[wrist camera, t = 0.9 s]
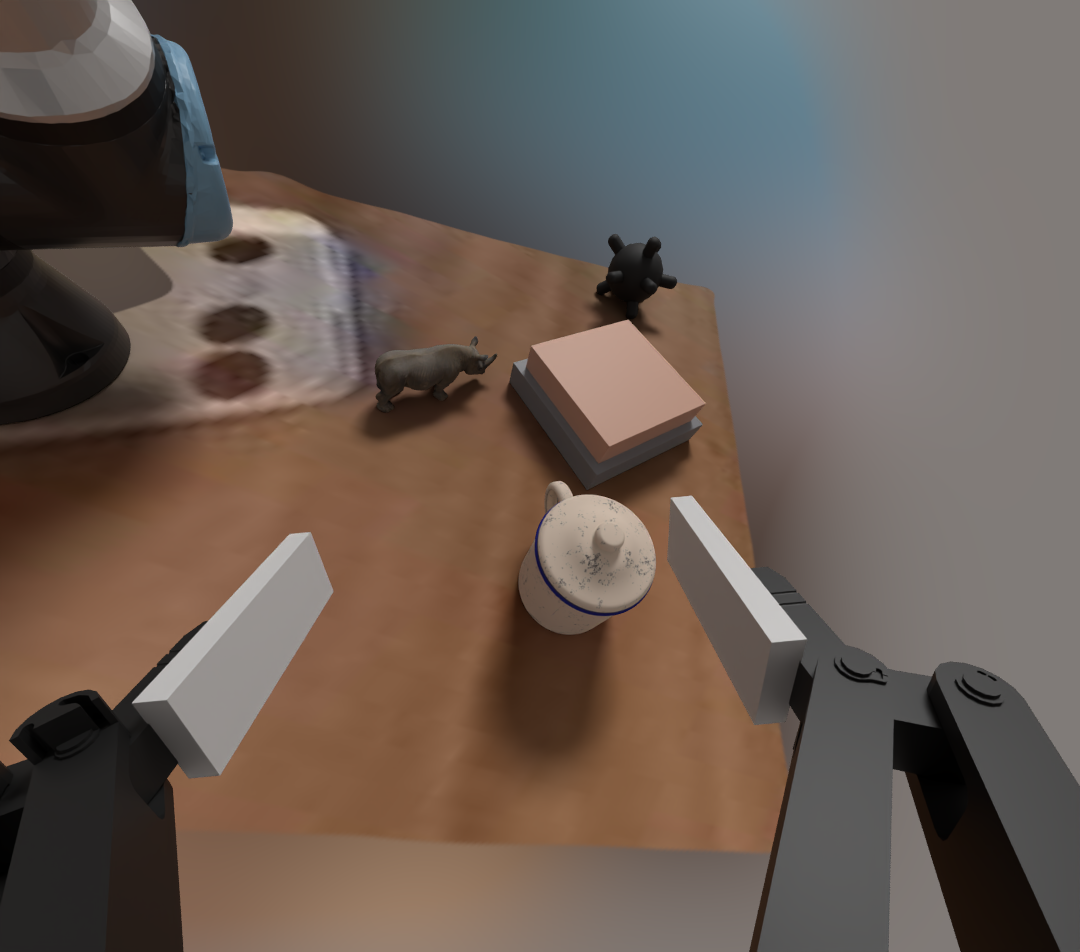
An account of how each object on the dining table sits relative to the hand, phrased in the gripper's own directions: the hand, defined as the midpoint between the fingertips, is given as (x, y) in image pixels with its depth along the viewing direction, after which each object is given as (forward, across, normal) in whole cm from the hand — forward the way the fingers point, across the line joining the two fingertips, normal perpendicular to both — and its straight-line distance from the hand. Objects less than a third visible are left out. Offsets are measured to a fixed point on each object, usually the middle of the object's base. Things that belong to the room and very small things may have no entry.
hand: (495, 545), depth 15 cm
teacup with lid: (+18, +3, -15) cm, 23 cm away
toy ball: (+53, +16, +5) cm, 56 cm away
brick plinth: (+34, +10, -6) cm, 36 cm away
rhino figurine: (+33, -8, -1) cm, 34 cm away
